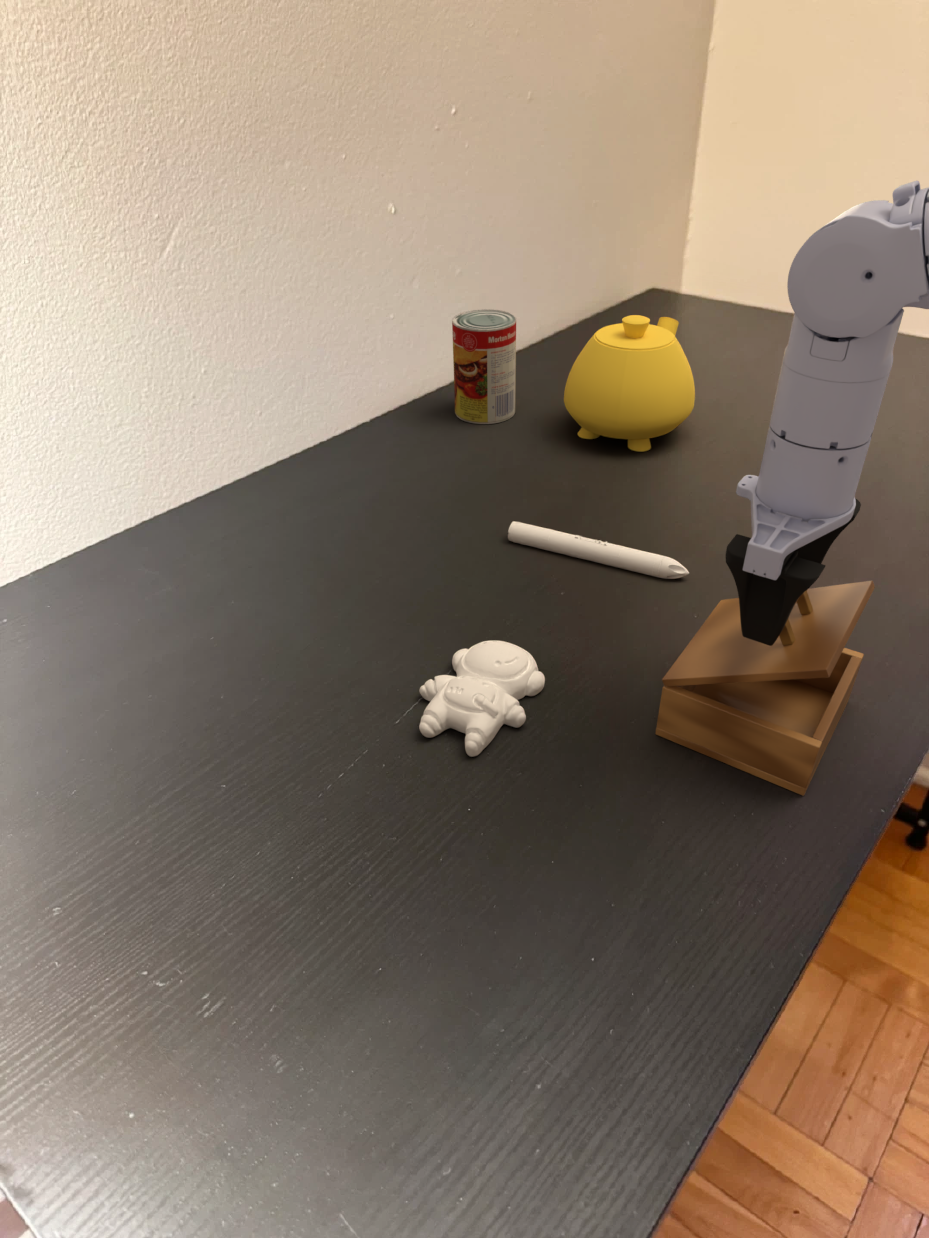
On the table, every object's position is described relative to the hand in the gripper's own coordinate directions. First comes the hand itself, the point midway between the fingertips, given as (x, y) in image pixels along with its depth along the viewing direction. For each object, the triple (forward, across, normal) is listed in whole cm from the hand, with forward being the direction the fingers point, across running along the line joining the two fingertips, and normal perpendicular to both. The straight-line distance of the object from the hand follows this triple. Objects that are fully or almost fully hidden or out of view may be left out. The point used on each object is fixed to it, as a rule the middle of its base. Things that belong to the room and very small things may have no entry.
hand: (774, 613), depth 58 cm
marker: (+10, -13, -20) cm, 26 cm away
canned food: (+10, -37, -48) cm, 61 cm away
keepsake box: (+10, 0, 0) cm, 10 cm away
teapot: (+10, -44, -30) cm, 54 cm away
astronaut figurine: (+10, +10, -18) cm, 23 cm away
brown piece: (+2, 0, 0) cm, 2 cm away
